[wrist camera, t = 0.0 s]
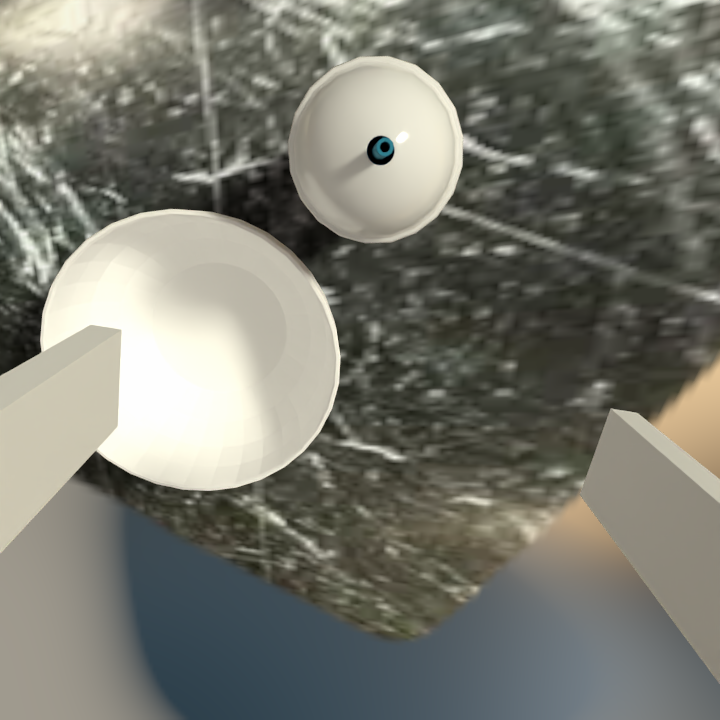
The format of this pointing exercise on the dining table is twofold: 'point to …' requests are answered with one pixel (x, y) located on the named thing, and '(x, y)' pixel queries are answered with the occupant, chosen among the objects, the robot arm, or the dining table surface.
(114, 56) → the dining table surface
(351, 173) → the smoothie
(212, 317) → the bowl
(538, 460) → the dining table surface
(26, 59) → the dining table surface
